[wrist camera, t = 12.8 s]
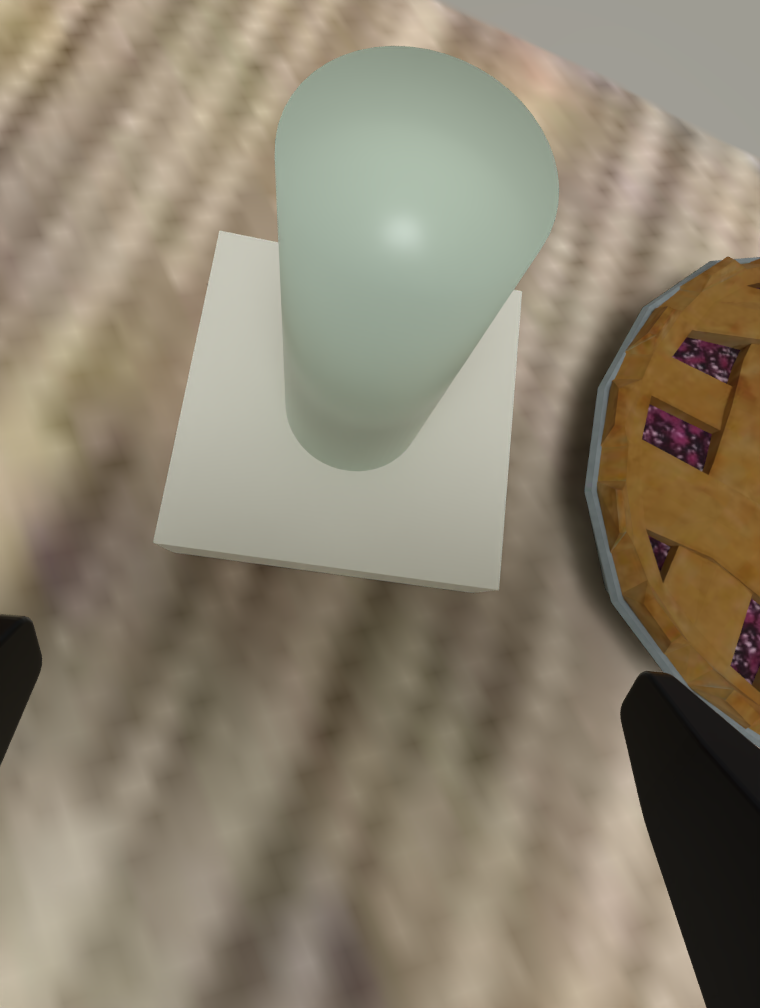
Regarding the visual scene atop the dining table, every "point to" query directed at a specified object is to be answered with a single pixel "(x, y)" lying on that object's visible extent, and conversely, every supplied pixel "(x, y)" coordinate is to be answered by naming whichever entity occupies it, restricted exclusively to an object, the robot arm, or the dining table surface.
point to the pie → (687, 485)
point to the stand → (317, 486)
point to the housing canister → (398, 239)
